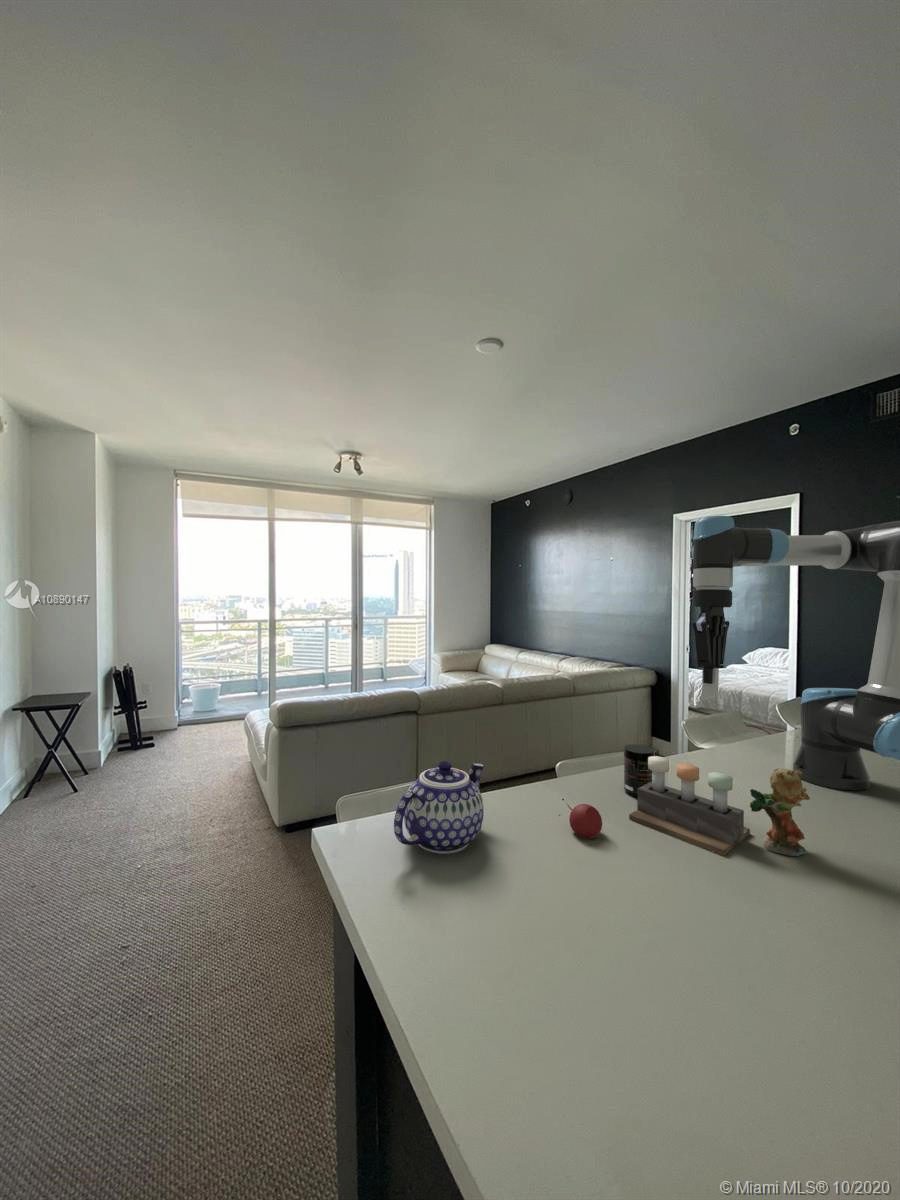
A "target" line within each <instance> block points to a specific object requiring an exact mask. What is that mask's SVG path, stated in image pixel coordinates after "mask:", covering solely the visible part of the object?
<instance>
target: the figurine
mask: <svg viewBox="0 0 900 1200" xmlns="http://www.w3.org/2000/svg"><path fill="white" fill-rule="evenodd" d="M801 774H802V772H801V771H800V770H797V771H793V769H788V768H779V767H778V768H775V769H774V770H773V772H772V774H771V775H770V778H769V780H770V781H769V783H770V788H771V789H772V792H771V793H762V792H760V790H757V789H754V788H751V789H749V791H750V796H751V797H752V798H753V801H750V803H749V804H750V805H749V807H750V808H751V810H750V811H751V812H753V813H754V812H756V813H757V812H761V810H763V811H764V812H765V813H766V814H767V816H768V817H769V819H770V820H771V828H770V829H769V830H767V831H766V835H765V836H764V839H763V842H762V844H763V846H764V848H766V849H767V850H768V851H769V852H772V853H776V854H779V855H784V856H787V857H799V856H803V855H806V854H807V853H808V852H809V851H808V850H807V849H806V848H805V847H804V846H803V845H802V844H800V843H799V841H801V840H805V839H806V837H805V836H804V835H805V834H804V833H803V832H802V830H801V829H800V828H799V826H798V825H797V823H796V822H795V820H794V819H793V814H792V809H793V808H794V807H802V804H801V803H800V802H802V801H804V800H806V801H809V800H811V798H810V796H809V795H808V793H807V791H808V789H807V788H806V787H804V786H803V781H802V779H801V778H800V776H801Z"/></svg>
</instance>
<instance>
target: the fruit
mask: <svg viewBox="0 0 900 1200" xmlns="http://www.w3.org/2000/svg"><path fill="white" fill-rule="evenodd" d="M561 800H562V801H563V802H564V801H565V803H566V805H567V807H568V808H569V810H570V814H569V817H568V818H569V819H568V820H569V821H568V822H569V825H570V828H571V830H572V832H573V833H574V834H575V835H576V836H578V837H580V838H583V839H594V838H596V837H597V836H598V835H599V834H600V833H601V831H602V828H603V819H602V816H601V814H600V812H599V811H598V809H597V808H595V807H594V806H593V805H590V804H588V803H581V804H577V805H576V806H574V807H573V808H572V807H571V806H570V805H569V804H568V803H567V801H566V800H565V799H564V798H562V799H561Z"/></svg>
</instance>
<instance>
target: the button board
mask: <svg viewBox="0 0 900 1200" xmlns="http://www.w3.org/2000/svg"><path fill="white" fill-rule="evenodd" d="M636 799H637V803H636V804H637V809H636V810H635V811H633V812H630V813H629V814H628V815H629V816H628V819H629V820H630V821H632V822H635V823H638V824H641V825H644V826H645V827H649V828H651V829H653V830H657V831H659V832H661V833H664V834H665V835H669V836H671V837H674V838H676V839H679V840H682V841H684V842H687V843H689V844H692V845H694V846H697V847H700V848H702V849H705V850H707V849H708V851H710V850H711V851H710V852H712V851H714V852H713V853H715V852H716V853H715V854H717V853H718V855H720V854H721V855H720V856H723V857H724V855H725V856H726V855H727V854H729V852H731V851H732V850H733V849H734V848H736V846H738V845H739V844H740V843H741V842H742V841H744V840H745V839H746V838H747V837H748V836H750V835H751V828H749V827H747V826H746V827H745V826H744V817H745V816H744V815H745V811H744V809H742V808H738V807H735V806H731V805H729V804H727V813H720V812H717V811H714V810H713V799H708V798H706V797H702V796H699V795H696V794H695V801H694V802H686V801H683V800H681V789H678V788H674V787H671V786H667V785H665V792H663V793H659V792H655V791H653V790H652V782H650V783H648V784H646V785H644V786H642V787H640V788H638V791H637V797H636ZM731 849H732V850H731Z"/></svg>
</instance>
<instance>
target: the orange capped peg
mask: <svg viewBox="0 0 900 1200" xmlns="http://www.w3.org/2000/svg"><path fill="white" fill-rule="evenodd" d="M676 777H677V778H678V779H680V791H681V800H683V801H686V802H694V801H695V795H696V794H695V793H696V792H695V788H696V787H695V786H696V785H695V782H697V781H699V780H700V768H699V767H698V766H696V765H694V764H689V763H677V764H676Z"/></svg>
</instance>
